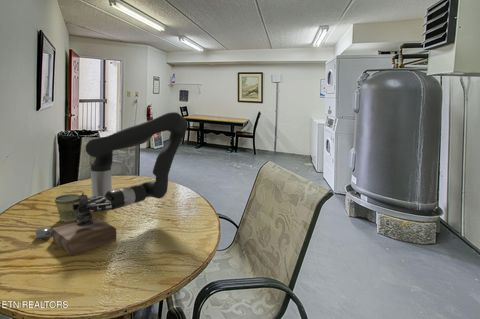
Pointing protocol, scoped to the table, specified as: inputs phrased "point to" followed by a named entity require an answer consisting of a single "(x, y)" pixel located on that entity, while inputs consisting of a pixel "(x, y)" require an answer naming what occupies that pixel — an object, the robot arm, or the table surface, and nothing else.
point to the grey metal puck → (43, 233)
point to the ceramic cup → (67, 206)
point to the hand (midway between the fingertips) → (75, 208)
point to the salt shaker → (85, 216)
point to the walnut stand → (83, 236)
